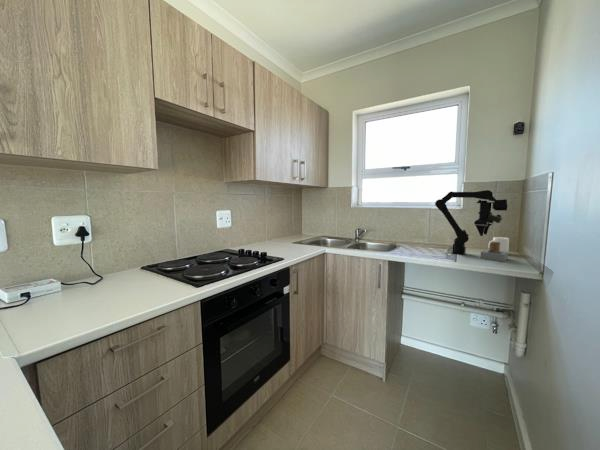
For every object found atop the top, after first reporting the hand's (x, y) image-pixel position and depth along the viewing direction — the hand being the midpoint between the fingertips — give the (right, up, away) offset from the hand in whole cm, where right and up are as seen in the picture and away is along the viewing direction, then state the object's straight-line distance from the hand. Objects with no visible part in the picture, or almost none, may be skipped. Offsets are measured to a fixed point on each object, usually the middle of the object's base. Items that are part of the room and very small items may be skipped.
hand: (483, 235), depth 154 cm
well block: (+1, -14, -7) cm, 16 cm away
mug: (+14, -13, +7) cm, 20 cm away
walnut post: (+1, -14, -7) cm, 16 cm away
